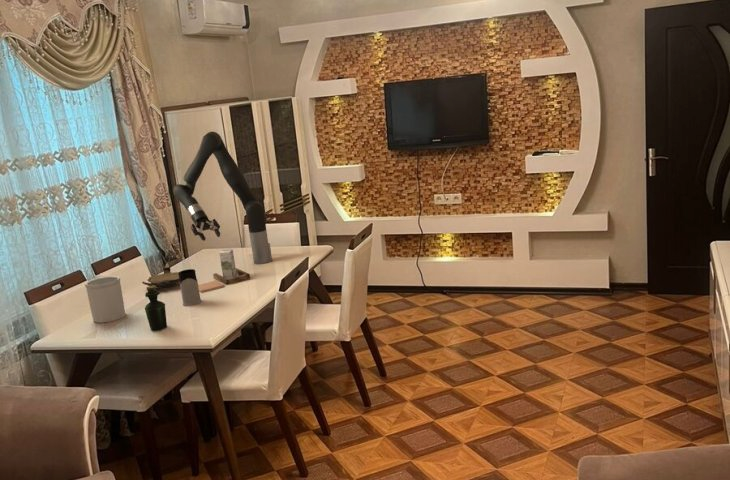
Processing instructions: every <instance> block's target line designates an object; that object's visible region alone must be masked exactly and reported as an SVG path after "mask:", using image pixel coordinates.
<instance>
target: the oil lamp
mask: <svg viewBox="0 0 730 480" xmlns="http://www.w3.org/2000/svg"><path fill="white" fill-rule="evenodd" d="M162 271H163V273H161V274H155V275H152V276H149V277H148V279H146V281H147V282H145V281H142V282H141V283H142V284H143V285H146V286H147V287H148V286H153V285H155V286H156V288H160V289H162V288H167V287H168V288H169V287H172V286H176V285H177V284H180V280H179V275H178V273H179V272H180V271H176V272H174V271H173V272H171V267H170V264H169V263H168V262H167V263H166V264H165V266H164V267H163V268H162Z"/></svg>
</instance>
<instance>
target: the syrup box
mask: <svg viewBox="0 0 730 480" xmlns="http://www.w3.org/2000/svg"><path fill="white" fill-rule="evenodd" d="M218 254H219V261H220V266H221V272H222V276H223V277H225V278H227V279H229V278H233V277H237V276H238V275H237V273H236V262H235V261H236V260H235V255H234V249H233V248H231V249H230V248H229V249H221V250H220V251H219V252H218Z"/></svg>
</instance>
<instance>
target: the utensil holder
mask: <svg viewBox="0 0 730 480" xmlns="http://www.w3.org/2000/svg"><path fill="white" fill-rule="evenodd" d="M84 286H85V288H86V293H87V298H88V302H89V303H88V304H89V308H90V311H91V312H90V313H91V316H92V320H93V322H94V323H99V324H100V323H102V324H103V323H110V322H114V321H117V320H120V319H122V318H123V317H125V316H126V309H125V304H124V303H125V302H124V297H123V291H122V284H121V277H120V276H117V275H105V276H100V277H95V278H92V279H90V280H88V281H85V283H84Z"/></svg>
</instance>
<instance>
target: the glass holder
mask: <svg viewBox="0 0 730 480" xmlns="http://www.w3.org/2000/svg"><path fill="white" fill-rule="evenodd" d="M178 272H179V273H178V275H179V280H180V282H179V288H180V291H181V292H180V293H181V298H182V306H183V307H193V306H197V305H199V304H202V302H203V300H202V299H201V292H199V287H198V285H199V283H198V279H197V274H196V269H193V268H191V269H189V268H188V269H184V270H183V269H182V270H181V271H178Z"/></svg>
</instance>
